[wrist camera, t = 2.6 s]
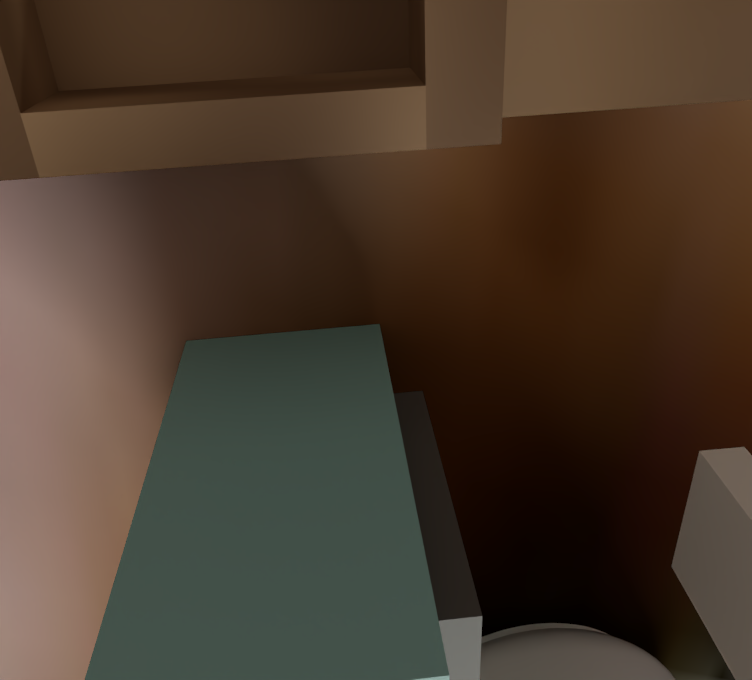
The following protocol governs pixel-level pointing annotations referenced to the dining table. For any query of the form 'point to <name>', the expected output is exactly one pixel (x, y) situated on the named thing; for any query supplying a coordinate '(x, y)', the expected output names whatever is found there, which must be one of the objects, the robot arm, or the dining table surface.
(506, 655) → the grey rounded block
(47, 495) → the dining table surface
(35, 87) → the rail
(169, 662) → the teal rectangular block
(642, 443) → the dining table surface
